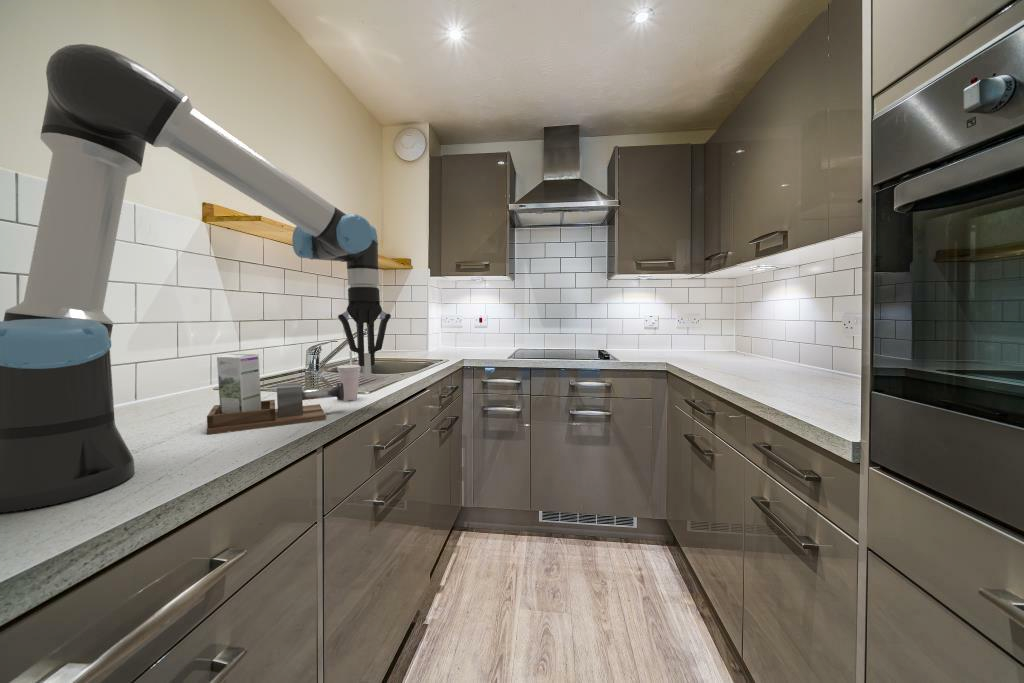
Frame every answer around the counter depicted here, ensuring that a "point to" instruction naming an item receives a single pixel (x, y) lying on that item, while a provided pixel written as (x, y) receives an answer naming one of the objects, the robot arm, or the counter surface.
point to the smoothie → (349, 379)
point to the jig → (267, 412)
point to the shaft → (324, 393)
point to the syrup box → (239, 383)
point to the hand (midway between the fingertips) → (367, 378)
